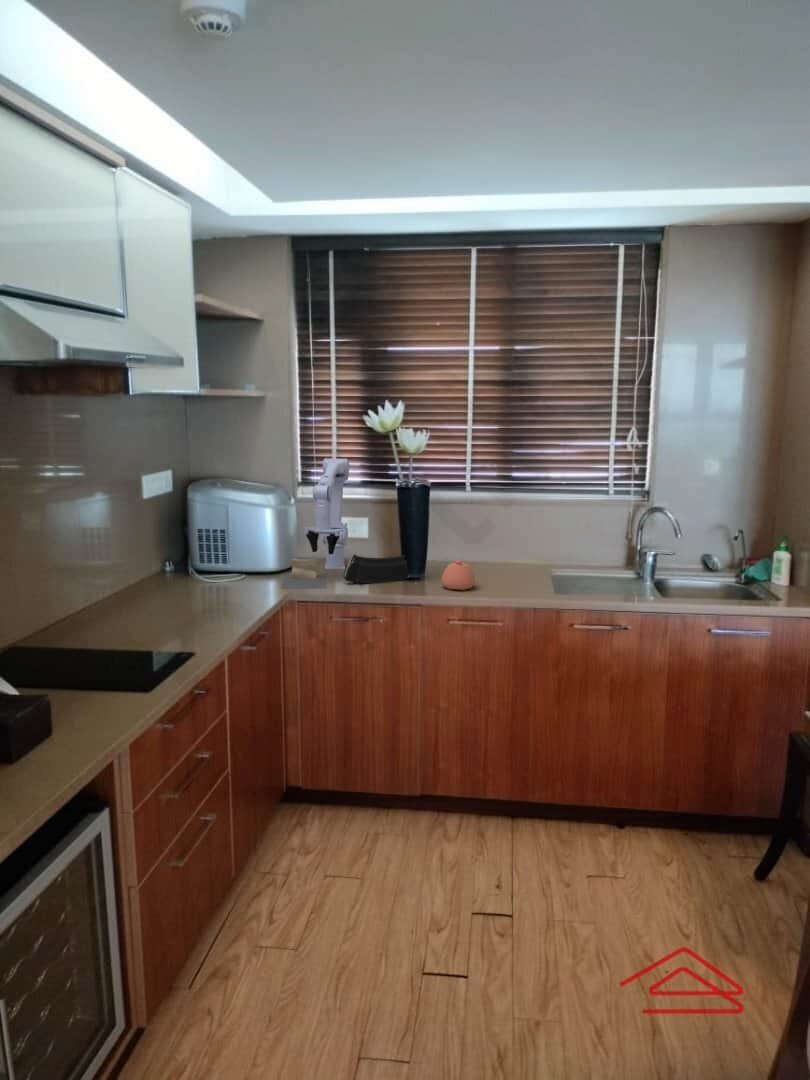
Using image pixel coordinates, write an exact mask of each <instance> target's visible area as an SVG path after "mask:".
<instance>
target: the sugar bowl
mask: <svg viewBox="0 0 810 1080" xmlns="http://www.w3.org/2000/svg"><path fill="white" fill-rule="evenodd" d="M441 584H442V585H443V586H444V587H445V588H446V589H447V590H449V591H452V590H459V591H461V590H465V591H466V590H468V589H471V588H473V586H474V585H475V584H476V578H475V574H474V571H473V570H472V568H471V566H470V565H469V564H467V563H464V562H463V560H459V559H458V560H455V562H452V563H448V565H447V566H446V567H445V569H444V570H443V573H442V576H441Z"/></svg>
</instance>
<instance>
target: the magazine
mask: <svg viewBox="0 0 810 1080" xmlns="http://www.w3.org/2000/svg"><path fill="white" fill-rule="evenodd" d="M404 555H405V554H403V556H402V555H397V556H396V555H395V556H388V557H387V556H386V557H365V556H360V555H359V556H357V554H353V555H352V557H350V559H349V561H348V563H347V565H345V569H344V572H343V576H342V577H343V579H344V580H345V581H346V582H351V583H352V584H353V585H355V584H356V583H359V584H382V583H392V582H398V581H403V580H404V581H405V580H407V579H406V578H407V577H408V567H407V561H406V560H405V556H404Z"/></svg>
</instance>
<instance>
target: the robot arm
mask: <svg viewBox="0 0 810 1080" xmlns="http://www.w3.org/2000/svg"><path fill="white" fill-rule="evenodd" d="M322 471H323V475H321V477H320V478H319V480H318V483H317V484H316V485H314V486H312V487H313V488H312V498H313V506H314V526H306V527H305V533H306V535H305V537H306V538H307V540H308V541H309V544H310V548H311V551H312V553H317V552H318V541H319V536H320V535H321V543H322V544H323V545H324V547H325V563H324V568H325V569H324V570H345V568H346V565H345V546H346V545H347V544H348V541H349V533H348V526H347V525H346V524H344V523H343V522H342V511H343V498H344V497H343V495H344V485H345V484H344V483H345V482H347V481H348V480H349V477H350V476H349V475H350V461H349V460H348V458H326V457H325V458H324V459H323V461H322Z"/></svg>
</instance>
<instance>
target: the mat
mask: <svg viewBox="0 0 810 1080" xmlns="http://www.w3.org/2000/svg"><path fill="white" fill-rule="evenodd" d="M280 589H281V590H294V589H295V590H297V589H299V590H300V589H308V590H309V589H327V577H326V574H316V578H302V579H292V574H284V575H283V578H282V581H281V588H280Z"/></svg>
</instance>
